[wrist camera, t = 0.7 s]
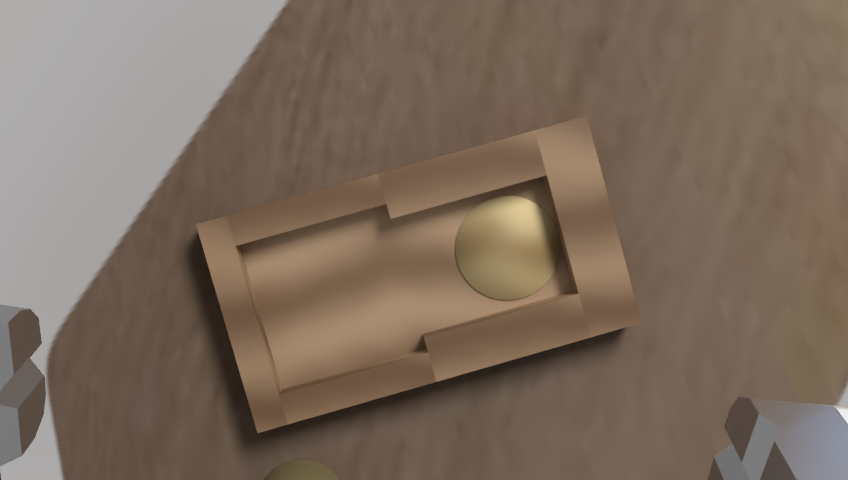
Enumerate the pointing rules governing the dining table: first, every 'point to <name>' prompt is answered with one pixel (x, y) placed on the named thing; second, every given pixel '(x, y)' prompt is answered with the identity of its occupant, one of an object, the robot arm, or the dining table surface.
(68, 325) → the dining table surface
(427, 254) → the keyhole board
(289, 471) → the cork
